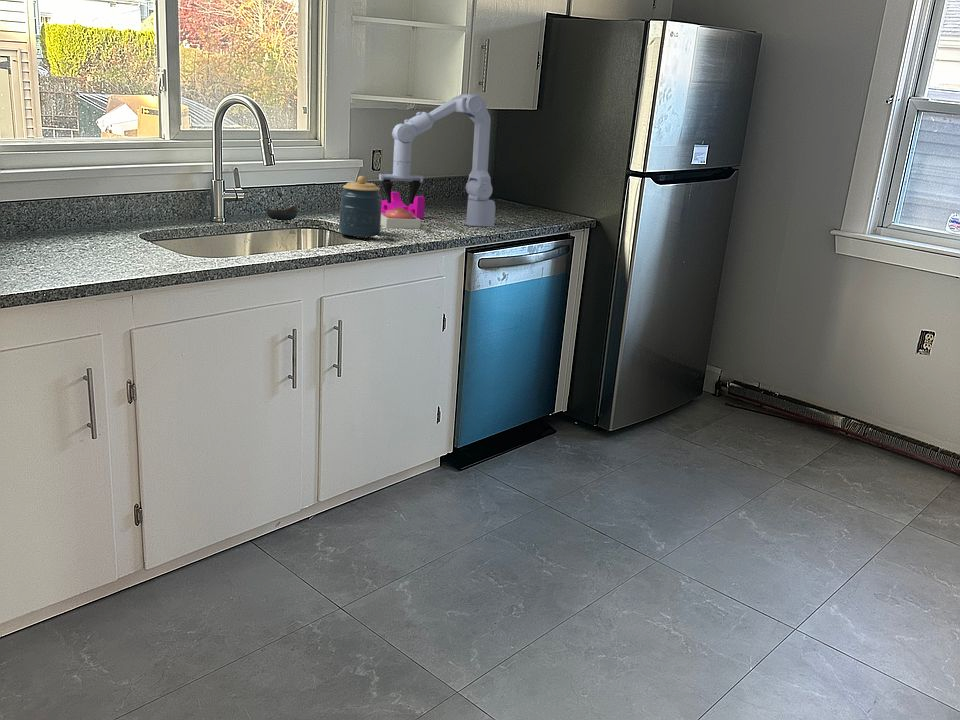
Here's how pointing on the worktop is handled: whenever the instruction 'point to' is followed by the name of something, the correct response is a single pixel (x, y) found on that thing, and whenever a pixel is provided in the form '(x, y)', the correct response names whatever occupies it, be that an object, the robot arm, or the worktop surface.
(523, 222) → the worktop surface
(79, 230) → the worktop surface
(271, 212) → the soup bowl
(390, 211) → the dome
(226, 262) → the worktop surface
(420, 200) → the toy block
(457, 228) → the game lane
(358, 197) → the canister
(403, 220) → the white square frame
